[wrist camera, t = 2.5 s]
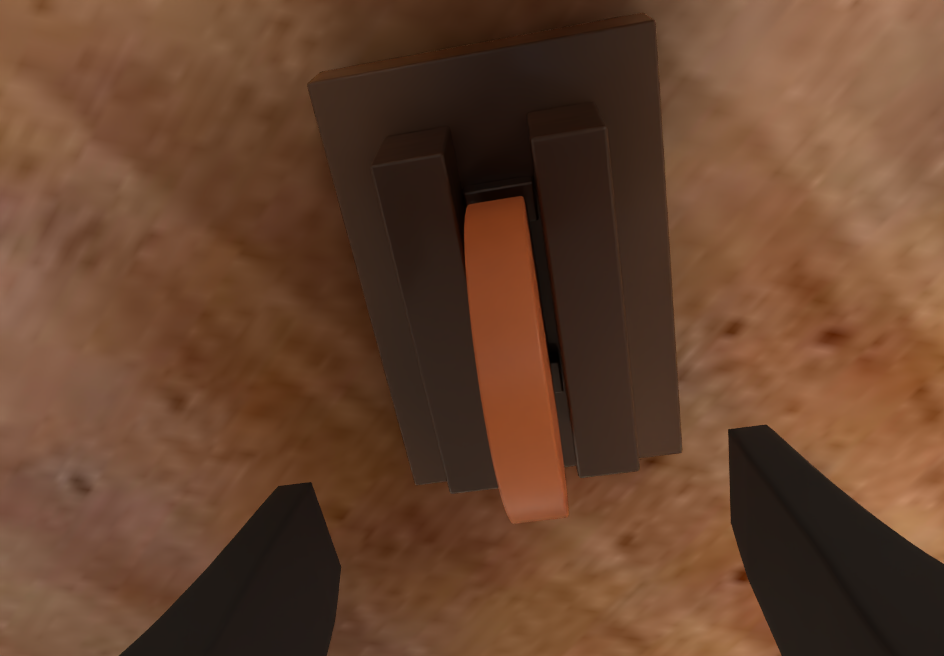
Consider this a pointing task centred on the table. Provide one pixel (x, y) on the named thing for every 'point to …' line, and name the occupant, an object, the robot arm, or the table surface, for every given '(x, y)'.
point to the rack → (551, 226)
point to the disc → (513, 361)
